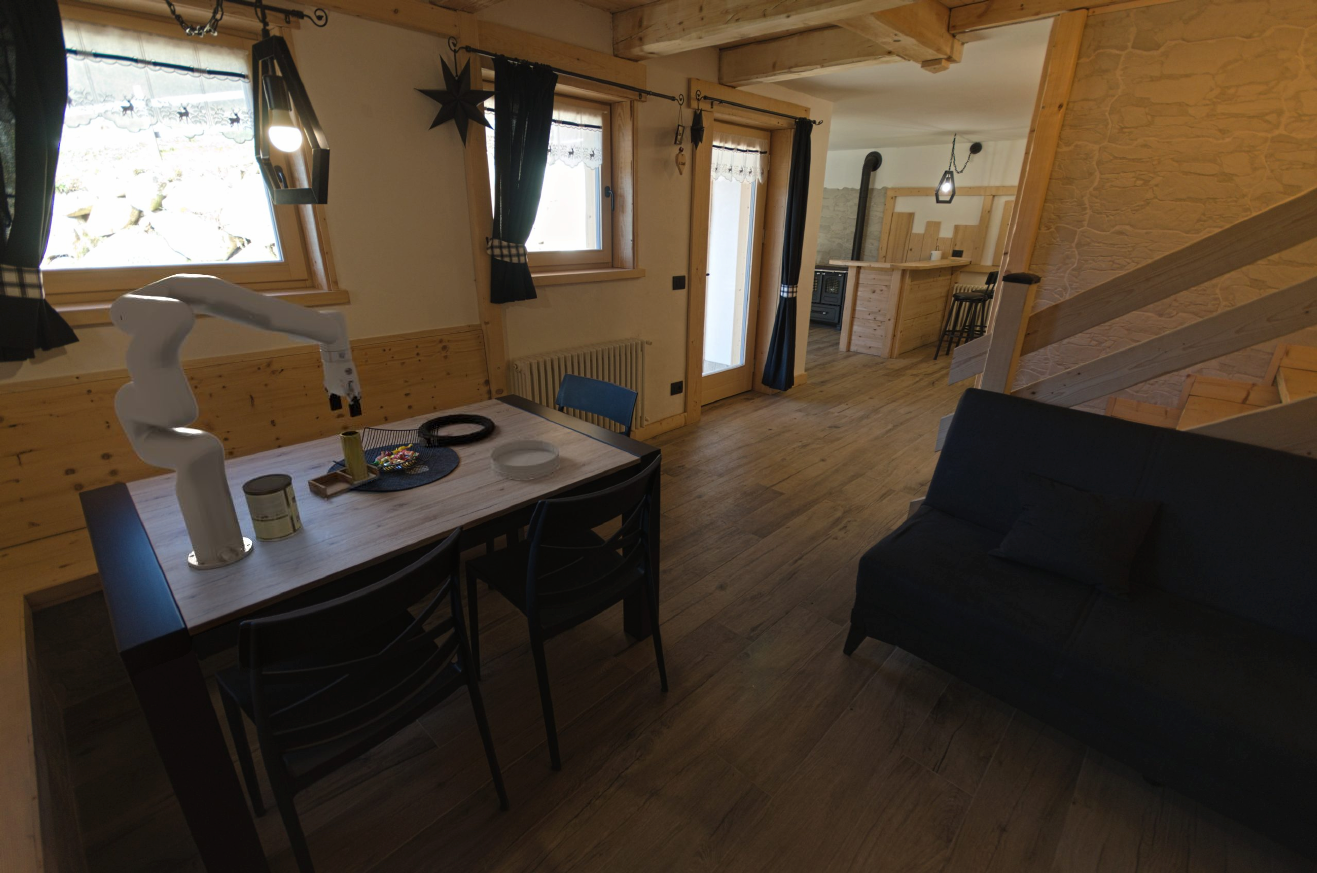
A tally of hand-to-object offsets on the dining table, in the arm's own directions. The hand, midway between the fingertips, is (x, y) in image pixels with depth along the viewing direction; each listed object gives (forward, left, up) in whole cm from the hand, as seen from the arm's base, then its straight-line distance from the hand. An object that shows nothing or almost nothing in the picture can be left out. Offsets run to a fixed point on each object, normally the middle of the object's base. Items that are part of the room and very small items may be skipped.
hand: (346, 412), depth 169 cm
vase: (0, 0, -21) cm, 21 cm away
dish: (-34, -37, -22) cm, 55 cm away
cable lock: (+8, -43, -22) cm, 49 cm away
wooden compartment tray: (0, +4, -22) cm, 22 cm away
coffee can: (-12, +29, -22) cm, 38 cm away
